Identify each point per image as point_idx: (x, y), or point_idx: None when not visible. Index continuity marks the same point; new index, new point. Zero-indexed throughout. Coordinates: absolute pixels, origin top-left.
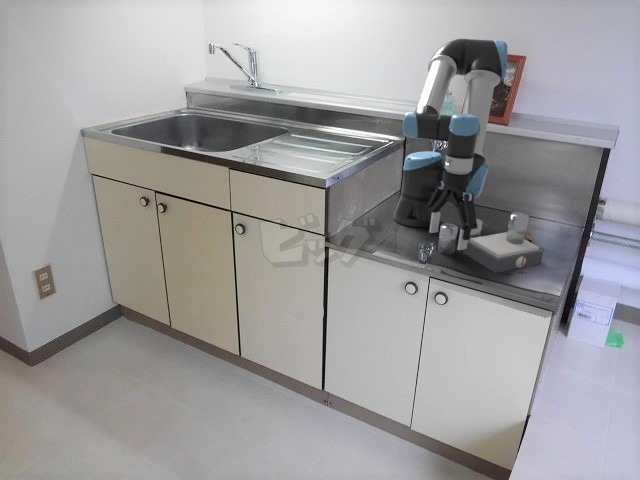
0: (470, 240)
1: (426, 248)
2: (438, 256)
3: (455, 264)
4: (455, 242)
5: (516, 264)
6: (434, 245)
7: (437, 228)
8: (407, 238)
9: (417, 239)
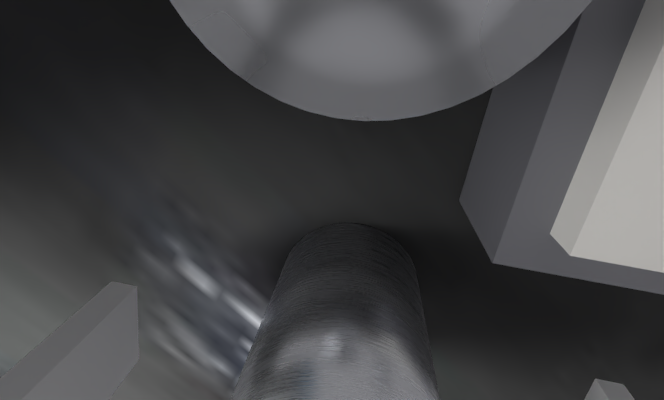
0: (567, 242)
1: None
2: None
3: (549, 388)
4: (425, 327)
5: None
6: (228, 280)
7: (109, 323)
8: None
9: None
